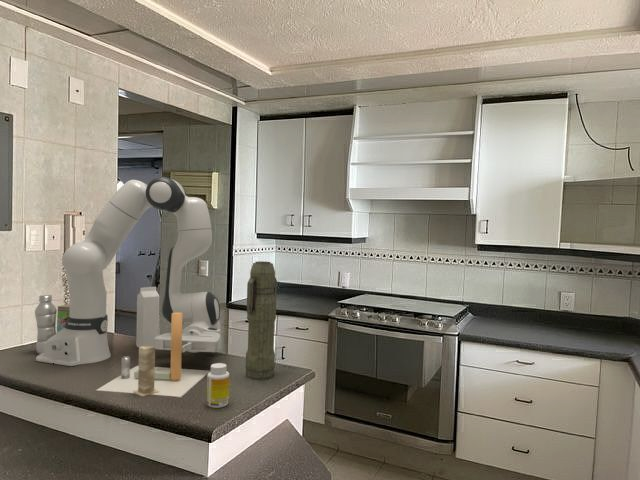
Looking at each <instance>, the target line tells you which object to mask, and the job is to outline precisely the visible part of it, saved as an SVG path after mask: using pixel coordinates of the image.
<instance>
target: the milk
mask: <svg viewBox="0 0 640 480" xmlns="http://www.w3.org/2000/svg"><path fill="white" fill-rule="evenodd" d="M135 334H136V337H135V341H136V342H135V345H136V347H137V348H139V347H142V346H147V345H150V346H153V347H154V338H155V337H157V336H159V335H160V294H159V293H158V291H157V286H145V287H140V291H139V293H138V294H137V295H136V333H135Z"/></svg>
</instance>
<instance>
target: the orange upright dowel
mask: <svg viewBox="0 0 640 480" xmlns="http://www.w3.org/2000/svg"><path fill="white" fill-rule="evenodd" d="M170 324H171V326H170V327H171V328H170V329H171V330H170V333H171V350H170V368H171V370H170V372H166V371H155V378H154V379H173V380H176V379H180V378H181V369H182V353H183V352H182V331H183V323H182V313H181V312H174V313H172V321H171V323H170ZM138 371H139V370H137V371H135V372H134V378H138Z"/></svg>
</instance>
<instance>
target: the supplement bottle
mask: <svg viewBox="0 0 640 480" xmlns="http://www.w3.org/2000/svg"><path fill="white" fill-rule="evenodd" d="M206 379H207V380H206V383H207V384H206V404H207V406H208V407H210V408H214V409H220V408H225V407H226V406H228V404H229V400H230V373H229V371H227V363H222V362H217V363H212V364H211V365H210V372H209V373H208V374H207V375H206Z"/></svg>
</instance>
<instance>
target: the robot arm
mask: <svg viewBox="0 0 640 480" xmlns="http://www.w3.org/2000/svg"><path fill="white" fill-rule="evenodd" d="M150 208H154V209H157V210H159V211H161V212H168V213H172V214H173V215H174V216H175V218H176V222H177V239H176V243H175V245H174V246H172V248H171V249H170V251H169V254H168V260H167V266H166V267H167V268H166V279H165V280H166V281H165V289H164V297H163V301H162V307H161V311H162V316H163V318H164V319H165V320H166V321H168V322H169V323H170V324H171V321H172V313H174V312H181V313H182V324H183V323H188V322H189V323H190V322H192V323H191V324H189V325H188V326H186V327H185V328H184V329H182V353H185V352H189V353H200V352H203V353H218V352H219V351H220V350H221V348H222V330H221V323H220V318H221V307H220V306H221V305H220V302H219V300H218V298H217V297H216V295H214V294H213V293H212V292H211V291H200V292H190V293H189V292H188V293H187V292H186V293H182V292H181V281H182V271H183V268H184V267H185V265H186V264H188V262H190V261H192V260H194V259H196V258H198V257H200V256H202V255H204V254H205V253H206V252H207V251H208V250H209V249H210V247H211V246H212V241H213V233H212V232H213V231H212V223H211V222H212V221H211V216H210V212H209V208H208V205H207V202H206V201H205V200H204V199H202V198H200V197H194V196H191V197H190V196H187V191H186V190H185V188H184V186H183V185H182V184H181V183H180V182H178V181H177V180H175V179H172V178H169V177H166V176H159V177H156V178H155V177H154V178H153V179H151V181H149V182H148V184H147V183H145V182H143V181H140V180H138V179H130V180H128V181H126V182H125V183H124V184H123V185H122V186H120V187H119V189H118V190H117V191H116V192H115V193H114V194H113V195H112V196H111V197H110V198H109V200H108V202H107V203H106V204H105V206H104V207H103V208H102V210H101V211H100V213H99V214H98V215H97V216H96V218H95V219H94V221H93V224H92V226H91V228H90V230H89V232H88V233H87V235H86V237H85V239H84V240H83V241H81V242H76V243H73V244H72V245H70V246H69V247H68V248H67V249H66V250H65V252H64V253H63V255H62V258H61V260H62V262H61V263H62V265H63V268H64V270H65V274H66V275H65V276H66V282H67V285H68V291H69V292H68V293H69V303H68V304H69V316H68V317H67V318H65V319H62V320H64V321H62V322H61V323H64V322H65V325H64V328H63V329H61V330H60V331H59V332H57V331H56V334H55V335H53V336H52V337H51V338H49V339H48V340H47V342H46V344H45V349H44V353H42V354H37V356H36V358H35V361H36V362H41V363H46V364H47V363H48V364H53V363H54V365H60V366H68V367H73V366H79V365H85V364H93V363H98V362H102V361H106V360H108V359H110V358H111V356H112V354H111V352H110V349H109V342H108V325H109V324H108V323H109V322H108V321H109V319H108V318H109V317H108V314H107V297H108V296H107V294H108V293H107V288H106V286H105V281H104V274H103V273H104V270H105V269H106V268H108V266H109V265H110V264H111V262H112V261H113V260H114V257H115V256H116V254H117V252H118V251H119V250H120V248H121V246H122V244H123V242H124V241H125V239H126V238H127V237H128V236H129V234H130V232H131V231H132V230H133V228H134V227H135V226H136V224H137V223H138V222H139V221H140V219H141V218H142V216H143V215H144V213H145V212H146V211H147V210H149V209H150ZM154 347H155V350H161V351H162V350H163V351H164V350H165V351H171V332H166V333H163V334H162V333H161V334H159V336H157V337H155V338H154Z"/></svg>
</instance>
